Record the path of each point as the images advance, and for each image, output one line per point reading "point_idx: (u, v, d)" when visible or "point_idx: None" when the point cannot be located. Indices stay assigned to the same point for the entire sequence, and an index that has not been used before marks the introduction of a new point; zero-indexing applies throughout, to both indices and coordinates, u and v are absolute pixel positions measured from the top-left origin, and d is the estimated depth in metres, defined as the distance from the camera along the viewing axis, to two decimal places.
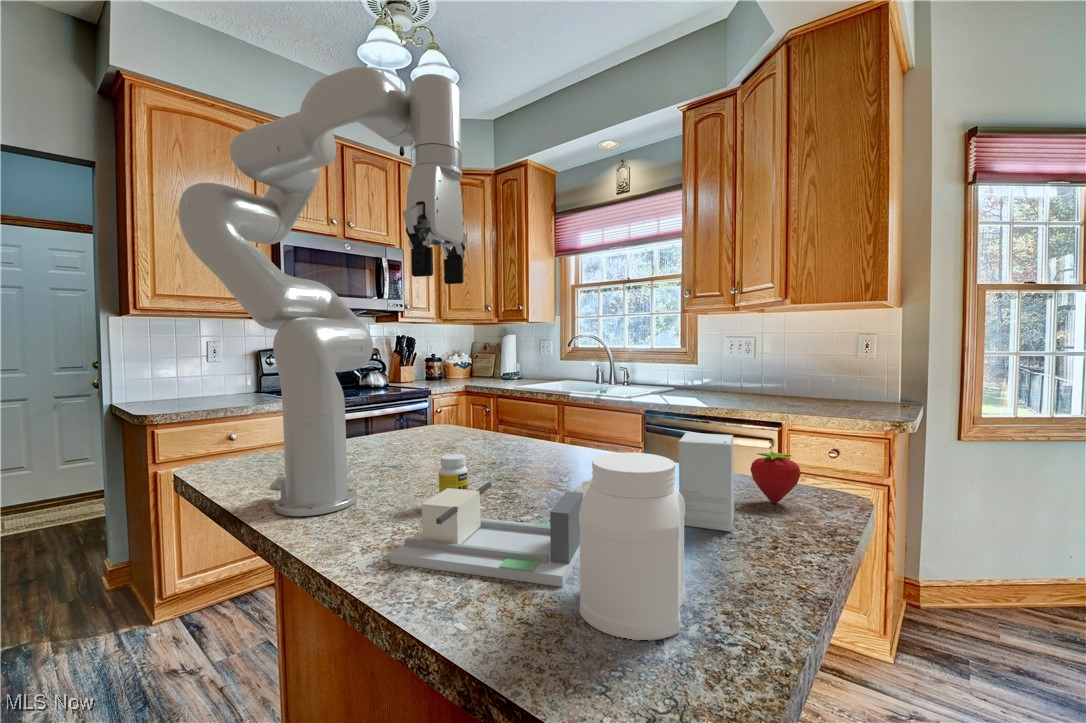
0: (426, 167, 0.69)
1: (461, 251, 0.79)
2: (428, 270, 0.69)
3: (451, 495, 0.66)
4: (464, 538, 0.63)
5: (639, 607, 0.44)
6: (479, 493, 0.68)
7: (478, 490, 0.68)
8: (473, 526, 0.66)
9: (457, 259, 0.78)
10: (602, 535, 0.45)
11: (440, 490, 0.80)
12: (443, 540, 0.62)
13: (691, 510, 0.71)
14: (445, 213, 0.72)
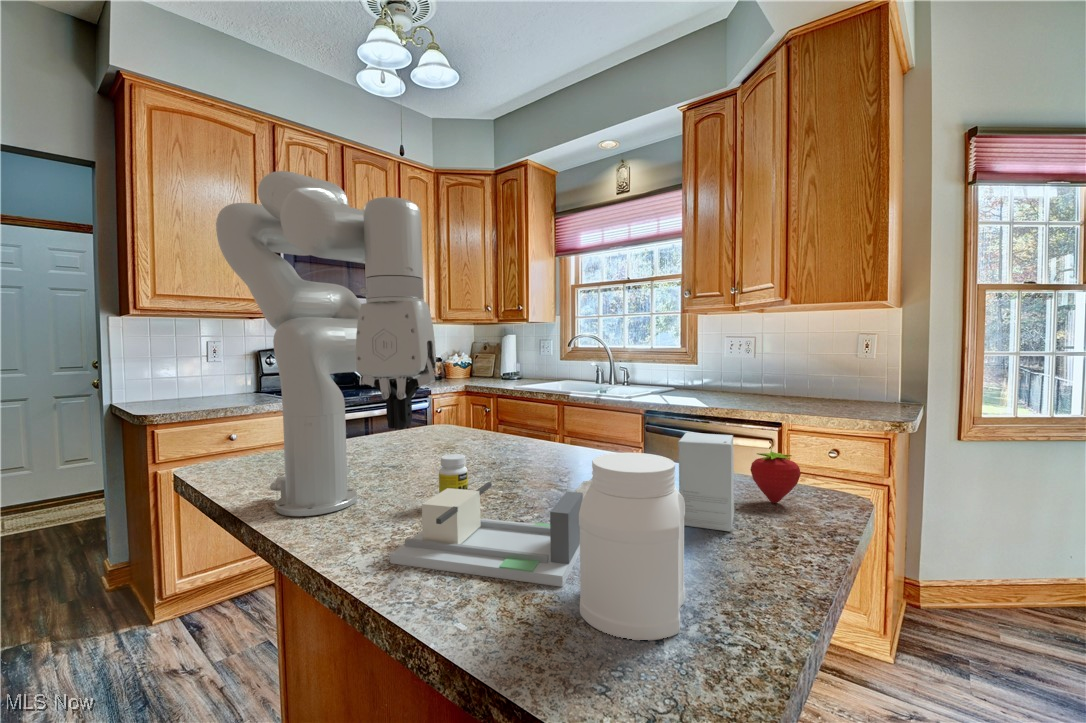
0: (426, 304, 0.66)
1: None
2: None
3: (451, 495, 0.66)
4: (464, 538, 0.63)
5: (639, 607, 0.44)
6: (479, 493, 0.68)
7: (478, 490, 0.68)
8: (473, 526, 0.66)
9: None
10: (602, 535, 0.45)
11: (440, 490, 0.80)
12: (443, 540, 0.62)
13: (691, 510, 0.71)
14: None
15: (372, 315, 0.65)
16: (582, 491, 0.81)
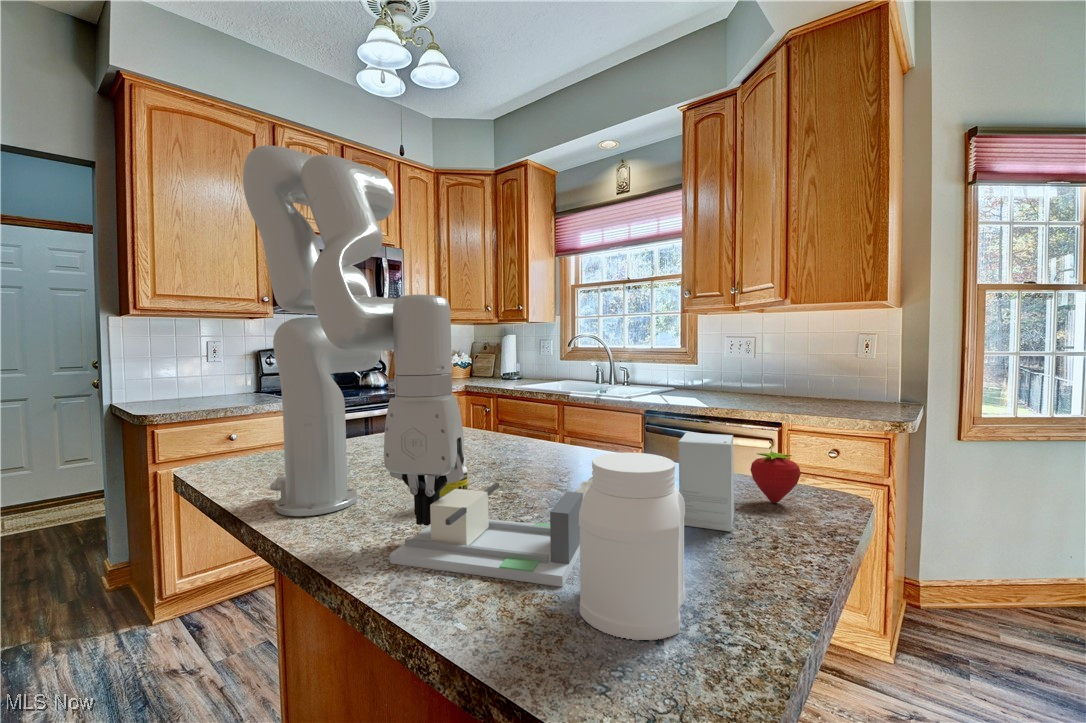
0: (456, 400, 0.65)
1: None
2: None
3: (459, 496, 0.66)
4: (472, 539, 0.63)
5: (639, 607, 0.44)
6: (487, 494, 0.68)
7: (486, 491, 0.68)
8: (481, 527, 0.66)
9: None
10: (602, 535, 0.45)
11: None
12: (452, 541, 0.62)
13: (691, 510, 0.71)
14: None
15: (401, 412, 0.64)
16: (583, 492, 0.80)
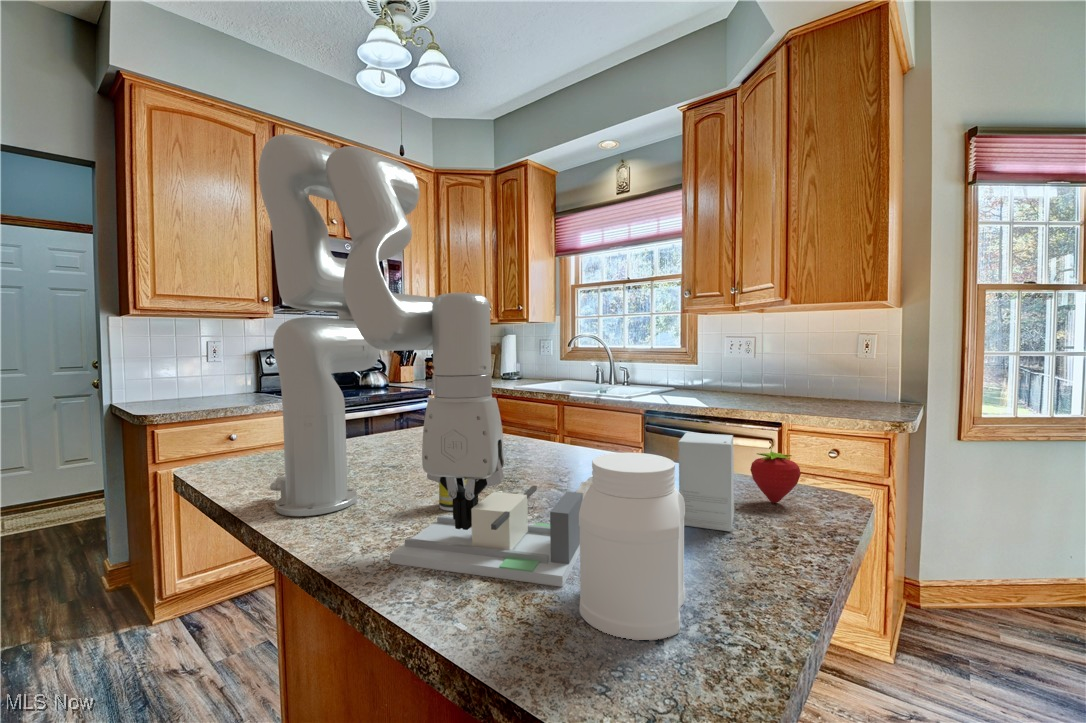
0: (496, 401, 0.64)
1: (464, 484, 0.66)
2: None
3: (499, 499, 0.64)
4: (514, 544, 0.61)
5: (639, 607, 0.44)
6: (527, 497, 0.66)
7: (525, 494, 0.66)
8: (522, 531, 0.64)
9: None
10: (602, 535, 0.45)
11: (440, 490, 0.80)
12: (494, 546, 0.60)
13: (691, 510, 0.71)
14: None
15: (441, 414, 0.62)
16: (583, 492, 0.80)
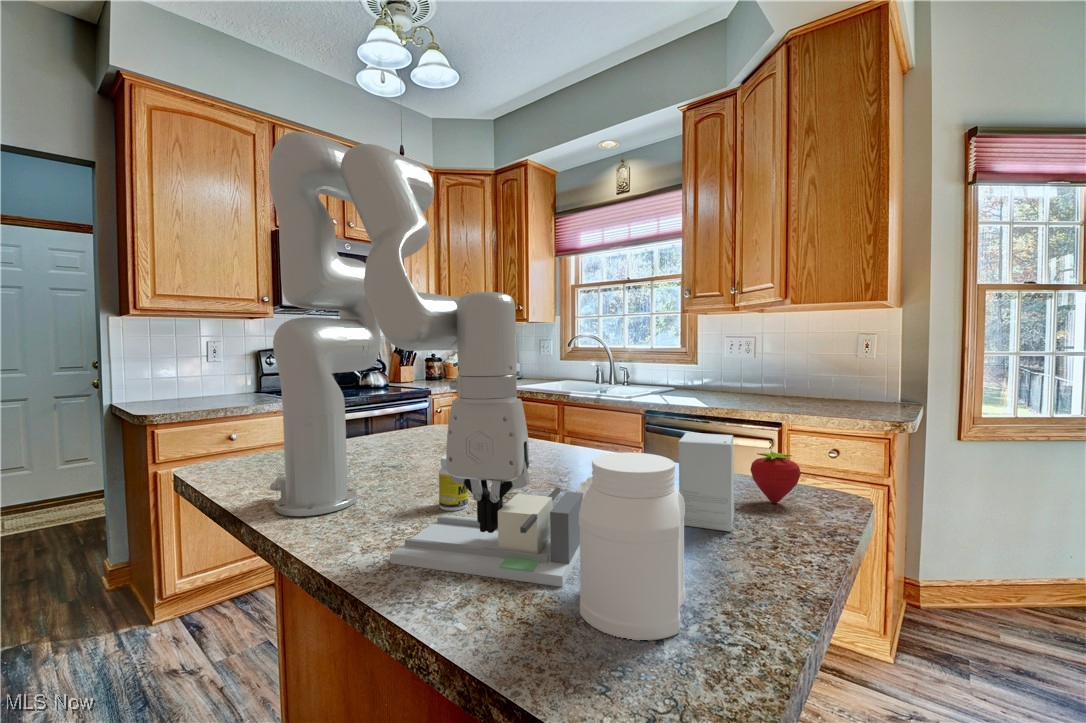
0: (521, 402, 0.63)
1: (488, 486, 0.65)
2: None
3: (524, 501, 0.63)
4: (541, 547, 0.60)
5: (639, 607, 0.44)
6: (552, 500, 0.65)
7: (550, 496, 0.65)
8: (547, 534, 0.63)
9: None
10: (602, 535, 0.45)
11: (440, 490, 0.80)
12: (521, 549, 0.59)
13: (691, 510, 0.71)
14: None
15: (466, 415, 0.61)
16: (584, 492, 0.80)
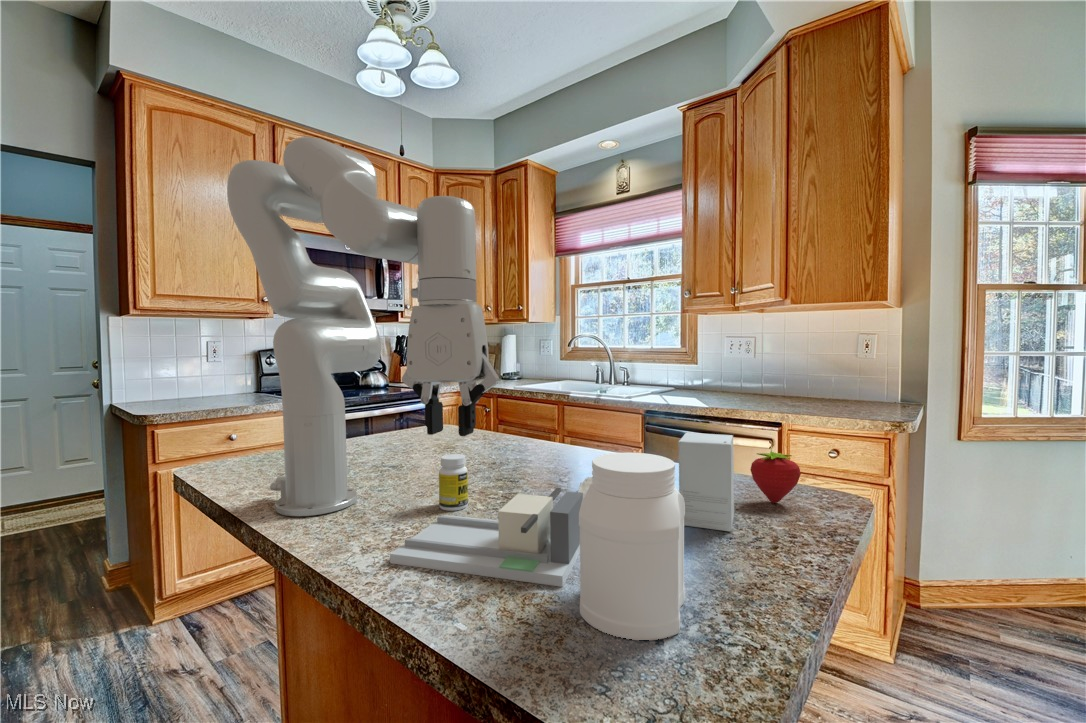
0: (480, 307, 0.64)
1: None
2: None
3: (525, 501, 0.63)
4: (542, 547, 0.60)
5: (639, 607, 0.44)
6: (552, 500, 0.65)
7: (551, 496, 0.65)
8: (548, 534, 0.63)
9: (440, 404, 0.66)
10: (602, 535, 0.45)
11: (440, 490, 0.80)
12: (521, 549, 0.59)
13: (691, 510, 0.71)
14: None
15: (425, 318, 0.62)
16: (585, 493, 0.80)
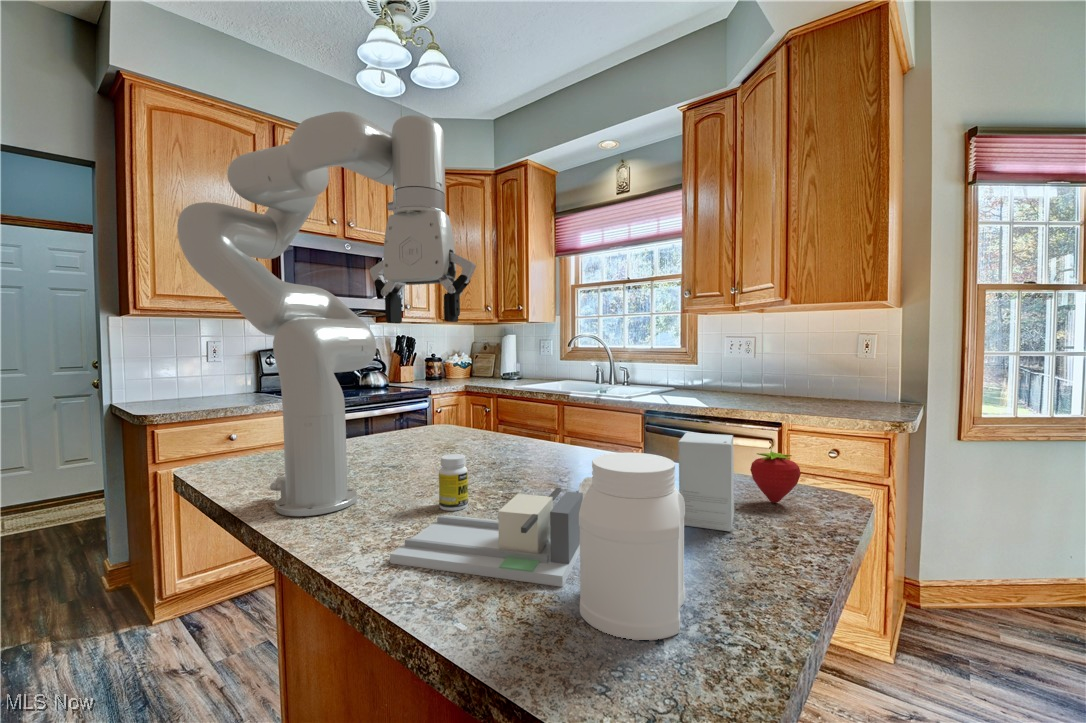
0: (448, 217, 0.72)
1: None
2: (456, 317, 0.73)
3: (525, 501, 0.63)
4: (542, 547, 0.60)
5: (639, 607, 0.44)
6: (552, 500, 0.65)
7: (551, 496, 0.65)
8: (548, 534, 0.63)
9: (398, 298, 0.75)
10: (602, 535, 0.45)
11: (440, 490, 0.80)
12: (521, 549, 0.59)
13: (691, 510, 0.71)
14: None
15: (399, 224, 0.71)
16: None
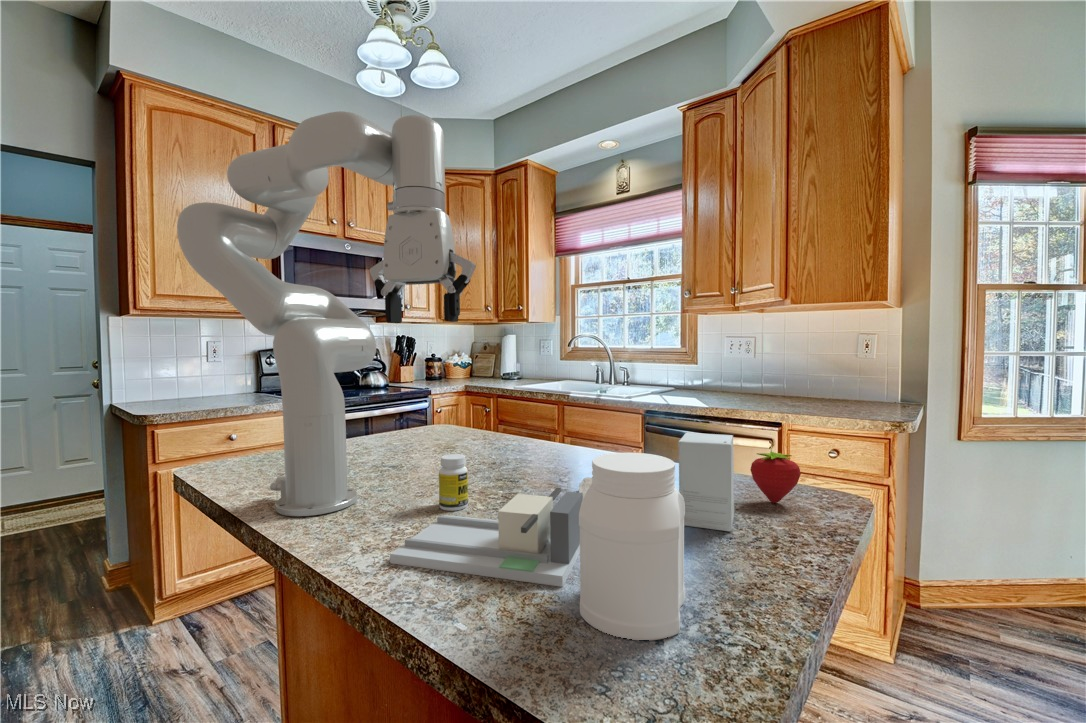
0: (448, 217, 0.72)
1: None
2: (456, 317, 0.73)
3: (525, 501, 0.63)
4: (542, 547, 0.60)
5: (639, 607, 0.44)
6: (552, 500, 0.65)
7: (551, 496, 0.65)
8: (548, 534, 0.63)
9: (398, 298, 0.75)
10: (602, 535, 0.45)
11: (440, 490, 0.80)
12: (521, 549, 0.59)
13: (691, 510, 0.71)
14: None
15: (399, 224, 0.71)
16: None
